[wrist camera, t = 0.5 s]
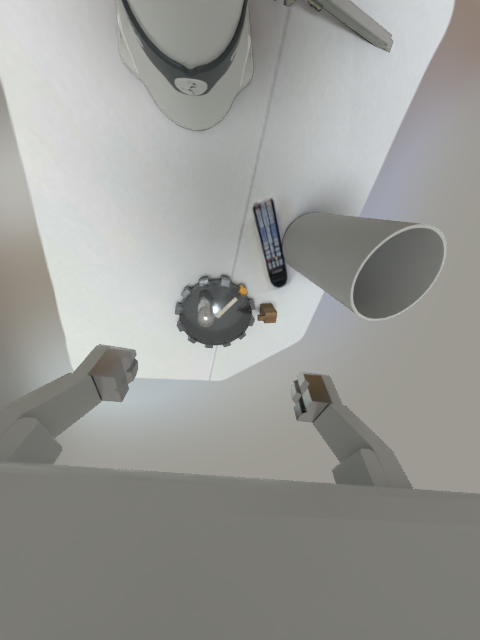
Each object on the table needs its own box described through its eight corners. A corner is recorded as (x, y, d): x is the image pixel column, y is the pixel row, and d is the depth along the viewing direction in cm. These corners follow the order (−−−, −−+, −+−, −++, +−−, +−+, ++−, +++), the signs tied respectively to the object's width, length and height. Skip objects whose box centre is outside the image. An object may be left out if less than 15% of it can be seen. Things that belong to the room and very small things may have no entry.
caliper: (271, 2, 27) (288, -46, 22) (273, -12, 26) (291, -64, 21) (387, 53, 32) (424, 24, 26) (391, 43, 31) (430, 11, 26)
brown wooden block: (254, 304, 52) (259, 313, 47) (271, 303, 52) (277, 312, 48) (253, 314, 53) (258, 323, 49) (270, 313, 54) (275, 322, 50)
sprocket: (169, 278, 43) (159, 303, 33) (255, 275, 46) (272, 297, 36) (182, 346, 54) (177, 383, 43) (251, 340, 57) (263, 373, 46)
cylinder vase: (340, 218, 44) (468, 235, 23) (319, 272, 50) (404, 323, 29) (291, 206, 41) (386, 213, 20) (274, 265, 47) (334, 317, 26)
